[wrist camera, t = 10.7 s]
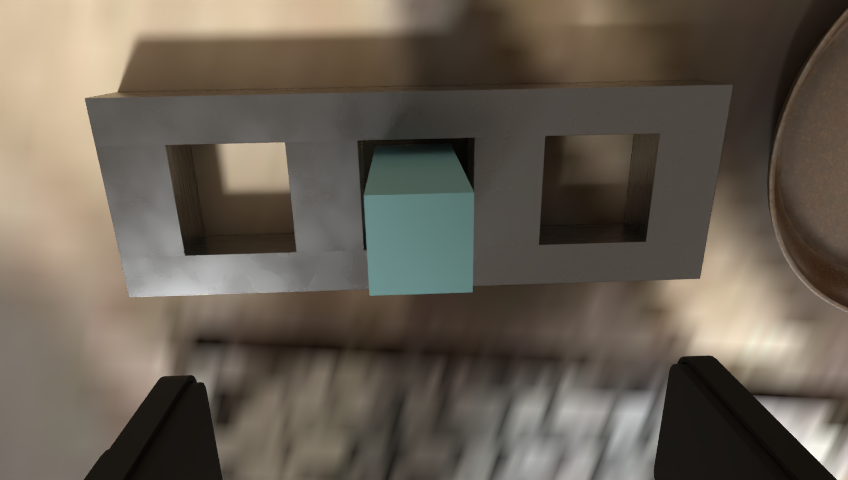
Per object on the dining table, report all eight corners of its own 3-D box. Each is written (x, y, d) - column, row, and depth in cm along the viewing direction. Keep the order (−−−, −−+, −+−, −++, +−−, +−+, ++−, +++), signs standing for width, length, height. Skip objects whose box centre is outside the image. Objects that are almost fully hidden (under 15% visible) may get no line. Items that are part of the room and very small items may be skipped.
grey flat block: (673, 257, 32) (699, 278, 29) (154, 273, 31) (129, 297, 28) (700, 80, 29) (733, 84, 26) (116, 92, 28) (84, 98, 25)
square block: (450, 214, 31) (472, 292, 21) (379, 217, 30) (369, 295, 21) (450, 143, 29) (474, 192, 20) (375, 145, 29) (363, 195, 20)
